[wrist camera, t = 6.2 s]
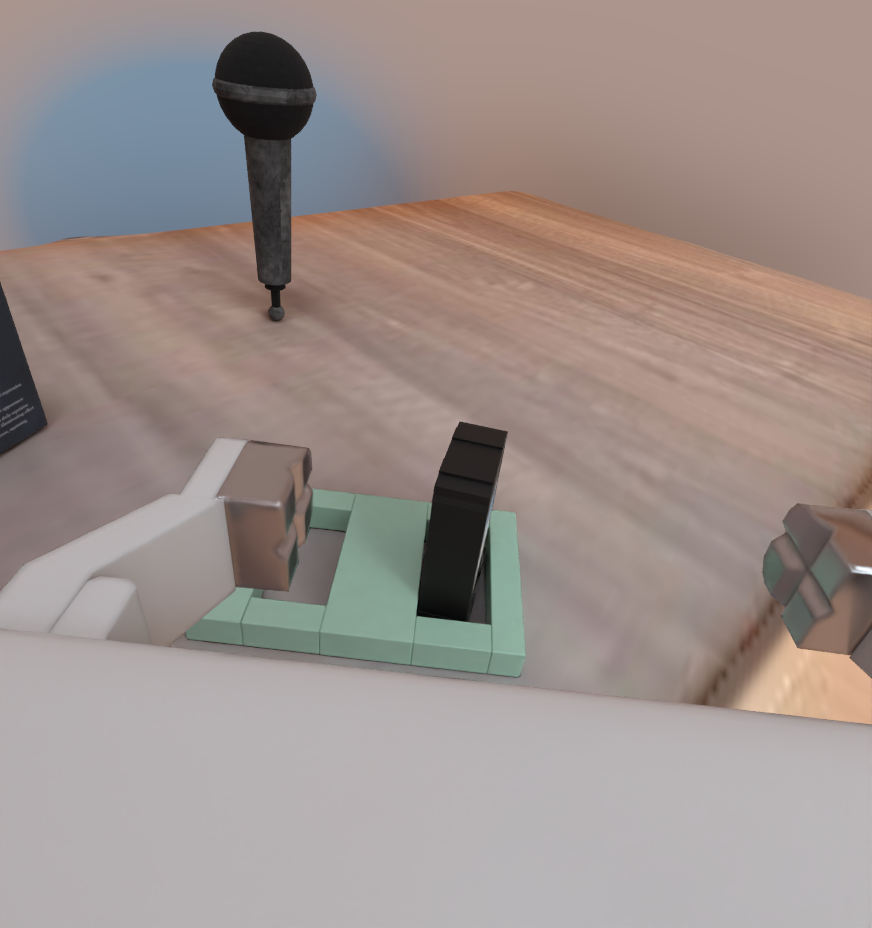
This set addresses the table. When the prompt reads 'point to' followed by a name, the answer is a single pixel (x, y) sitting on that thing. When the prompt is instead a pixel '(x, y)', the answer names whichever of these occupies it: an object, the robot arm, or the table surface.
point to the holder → (384, 596)
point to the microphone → (267, 140)
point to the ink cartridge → (460, 521)
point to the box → (15, 386)
